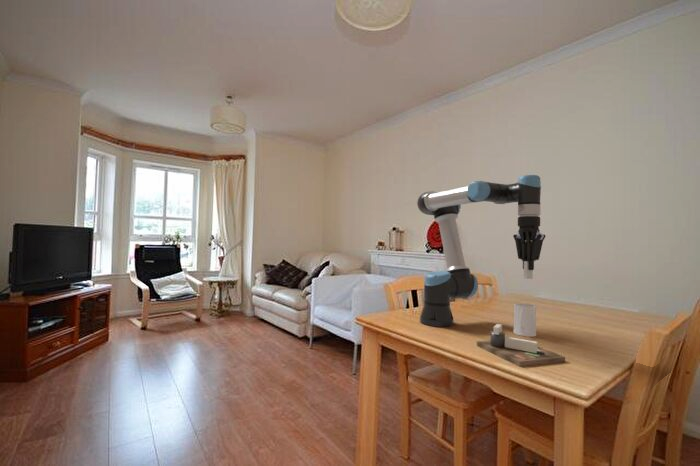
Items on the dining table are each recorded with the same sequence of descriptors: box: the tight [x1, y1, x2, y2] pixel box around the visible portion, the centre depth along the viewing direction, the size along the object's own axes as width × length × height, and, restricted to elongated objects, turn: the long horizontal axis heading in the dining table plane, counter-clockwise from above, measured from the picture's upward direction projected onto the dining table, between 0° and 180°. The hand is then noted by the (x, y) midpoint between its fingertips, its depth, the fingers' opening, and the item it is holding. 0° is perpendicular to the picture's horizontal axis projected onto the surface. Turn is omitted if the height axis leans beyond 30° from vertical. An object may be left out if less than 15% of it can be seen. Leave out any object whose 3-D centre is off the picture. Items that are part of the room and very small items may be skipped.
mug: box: [512, 302, 537, 338], centre depth 133 cm, size 12×8×12 cm
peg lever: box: [489, 323, 545, 355], centre depth 109 cm, size 16×6×7 cm, turn 54°
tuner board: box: [476, 339, 566, 367], centre depth 110 cm, size 20×18×2 cm
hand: (528, 278), depth 122 cm, fingers closed
